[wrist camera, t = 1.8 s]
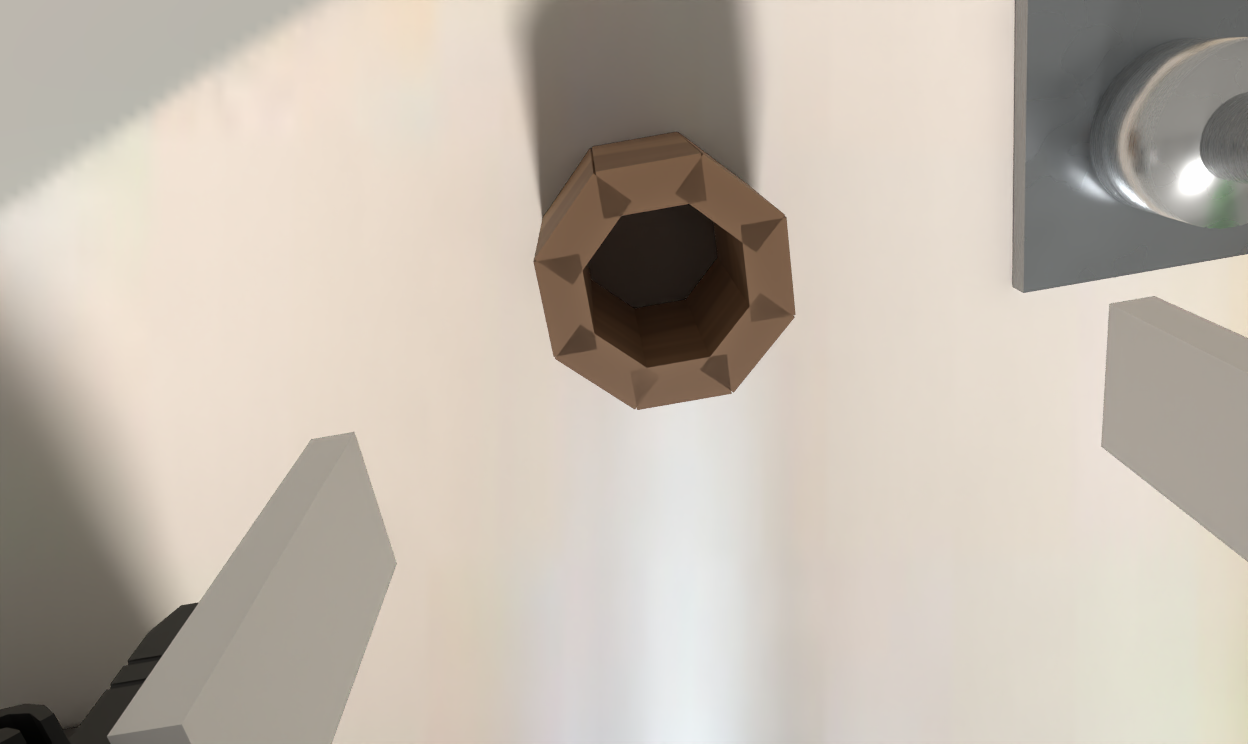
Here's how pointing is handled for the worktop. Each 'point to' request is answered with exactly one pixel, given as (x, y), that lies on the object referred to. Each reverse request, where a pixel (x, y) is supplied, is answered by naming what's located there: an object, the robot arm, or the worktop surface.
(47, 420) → the worktop surface
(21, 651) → the worktop surface
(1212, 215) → the stand
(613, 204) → the ring
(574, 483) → the worktop surface
